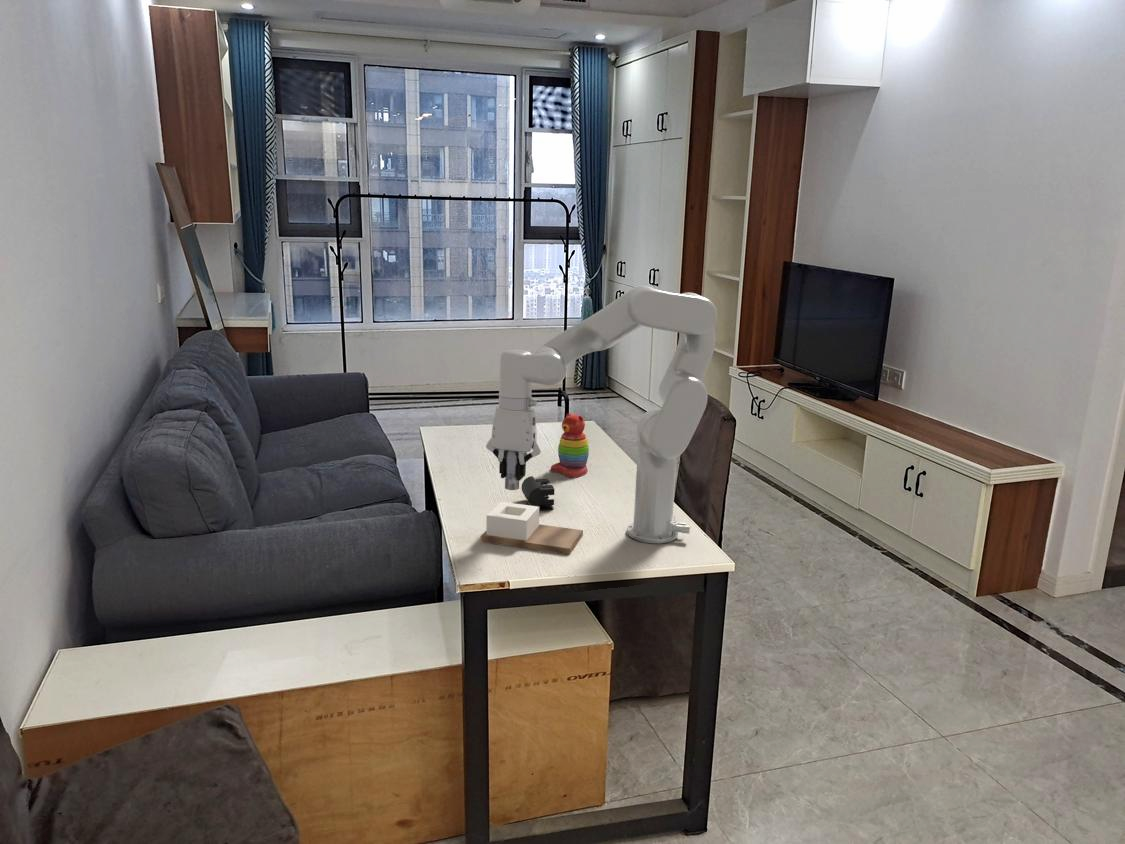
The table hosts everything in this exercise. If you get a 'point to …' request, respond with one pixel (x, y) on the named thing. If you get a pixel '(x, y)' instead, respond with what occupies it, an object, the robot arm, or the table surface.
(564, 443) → the stacking bear
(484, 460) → the table surface
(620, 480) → the table surface
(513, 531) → the socket
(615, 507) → the table surface
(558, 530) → the board
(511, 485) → the peg
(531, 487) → the end cap
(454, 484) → the table surface
